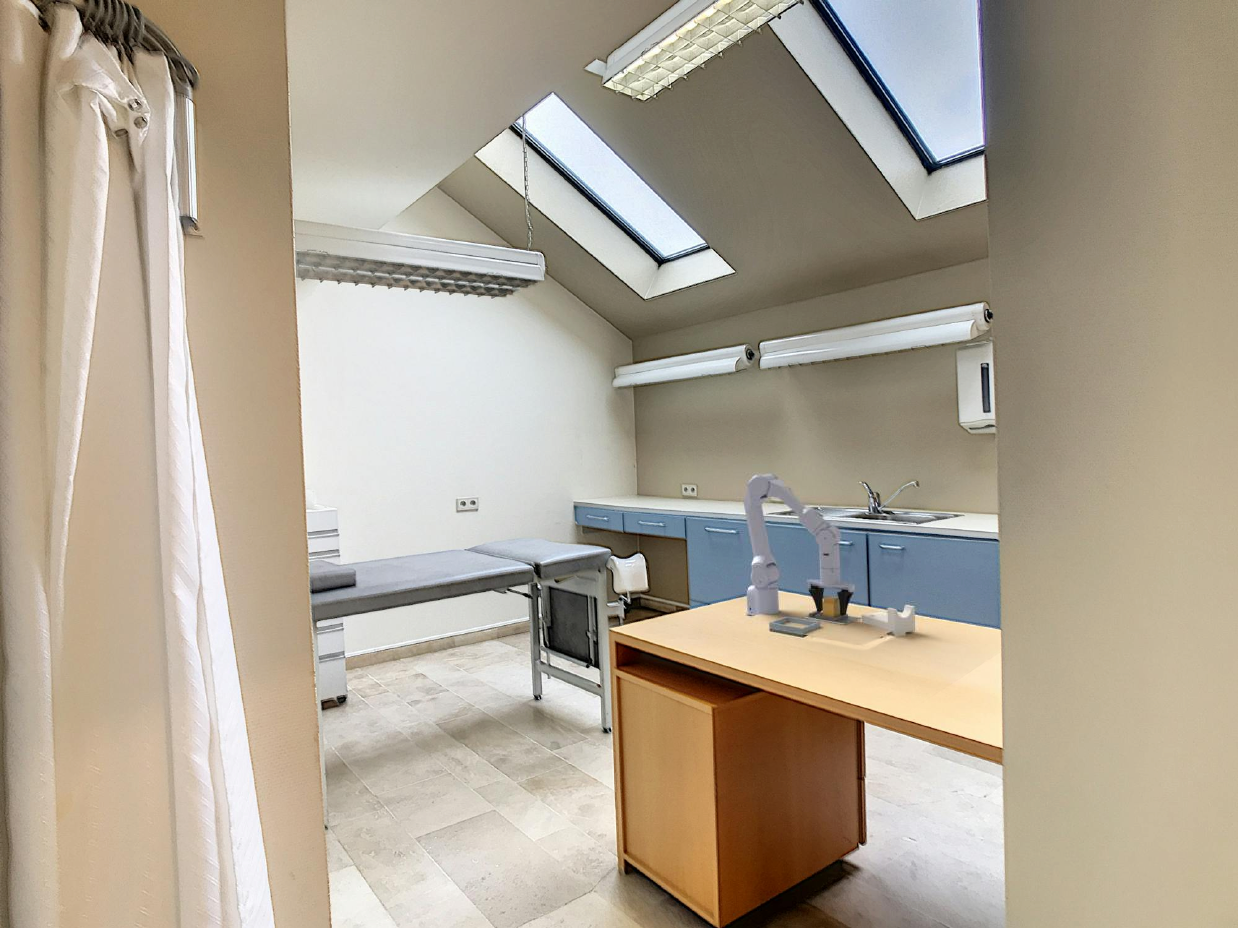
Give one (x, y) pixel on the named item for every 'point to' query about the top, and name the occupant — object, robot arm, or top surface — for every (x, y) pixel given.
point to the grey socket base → (831, 618)
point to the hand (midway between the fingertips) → (831, 613)
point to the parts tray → (779, 625)
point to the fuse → (831, 606)
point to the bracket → (893, 620)
